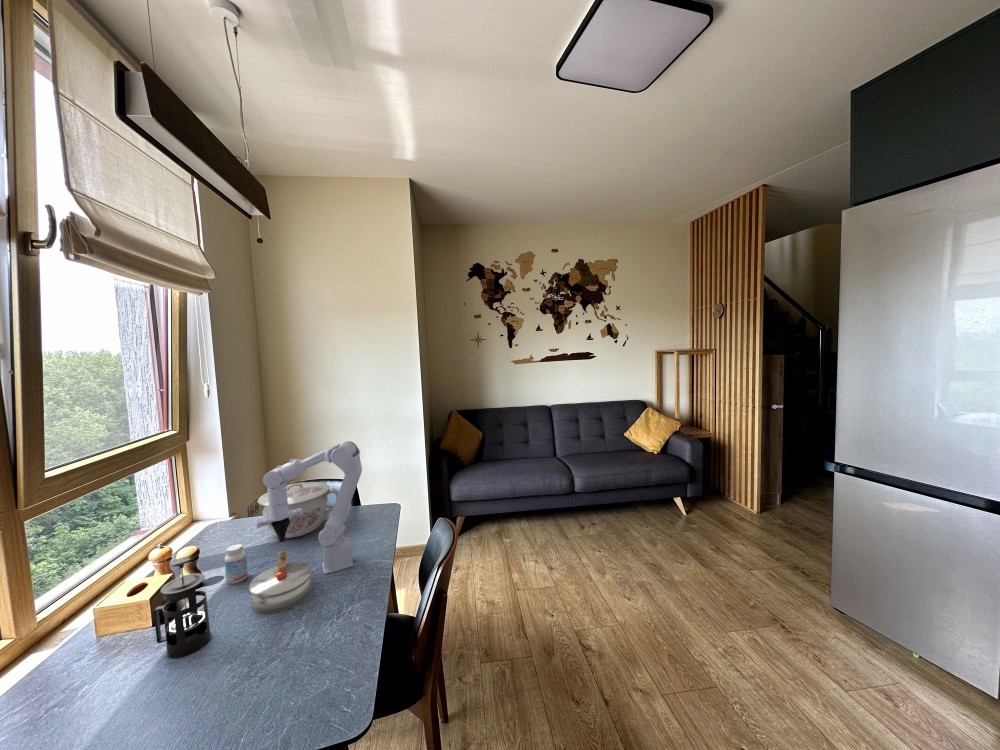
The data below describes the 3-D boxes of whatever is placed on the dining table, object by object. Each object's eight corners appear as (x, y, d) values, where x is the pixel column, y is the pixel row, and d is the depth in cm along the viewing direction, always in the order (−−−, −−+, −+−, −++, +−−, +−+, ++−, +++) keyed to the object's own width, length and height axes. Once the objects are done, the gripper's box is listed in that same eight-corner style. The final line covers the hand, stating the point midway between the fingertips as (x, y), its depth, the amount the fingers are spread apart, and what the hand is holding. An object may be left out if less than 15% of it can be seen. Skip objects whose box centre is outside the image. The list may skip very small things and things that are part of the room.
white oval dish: (309, 567, 138) (308, 553, 138) (312, 601, 119) (311, 585, 118) (256, 581, 131) (255, 567, 131) (250, 621, 111) (249, 604, 111)
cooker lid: (312, 585, 118) (312, 575, 118) (246, 604, 110) (245, 594, 110) (310, 552, 138) (310, 544, 138) (254, 567, 130) (253, 558, 130)
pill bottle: (237, 585, 129) (234, 552, 129) (222, 583, 131) (218, 551, 130) (252, 574, 135) (249, 543, 135) (237, 573, 137) (234, 542, 136)
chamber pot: (245, 541, 161) (240, 491, 160) (302, 514, 186) (298, 471, 185) (294, 551, 150) (289, 498, 149) (347, 521, 176) (343, 476, 174)
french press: (219, 627, 109) (211, 547, 108) (207, 650, 100) (198, 564, 99) (167, 639, 105) (158, 557, 104) (150, 665, 96) (140, 575, 95)
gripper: (296, 494, 144) (299, 529, 145) (251, 506, 134) (254, 545, 135) (303, 498, 139) (306, 535, 140) (257, 512, 129) (260, 551, 130)
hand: (281, 540), depth 137 cm, fingers closed
